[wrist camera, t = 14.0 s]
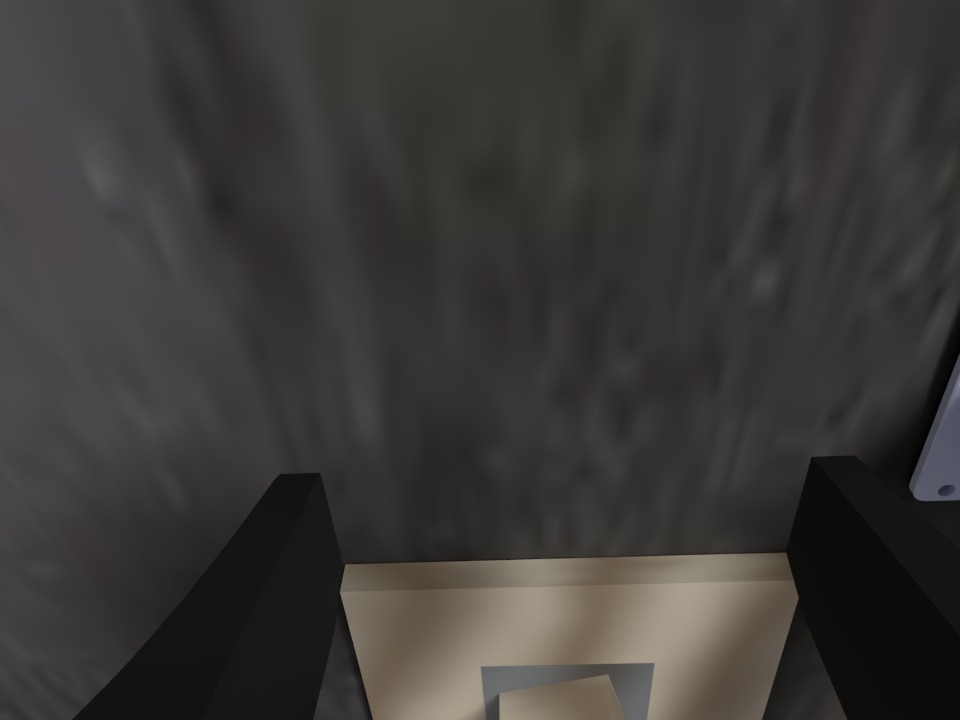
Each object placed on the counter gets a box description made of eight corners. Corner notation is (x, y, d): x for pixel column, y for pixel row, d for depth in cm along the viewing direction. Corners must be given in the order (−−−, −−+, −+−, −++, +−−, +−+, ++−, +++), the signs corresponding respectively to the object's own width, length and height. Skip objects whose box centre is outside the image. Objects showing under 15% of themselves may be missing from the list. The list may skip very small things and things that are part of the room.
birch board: (792, 552, 26) (804, 581, 25) (730, 775, 36) (737, 802, 35) (345, 564, 27) (339, 592, 26) (397, 779, 36) (395, 806, 35)
